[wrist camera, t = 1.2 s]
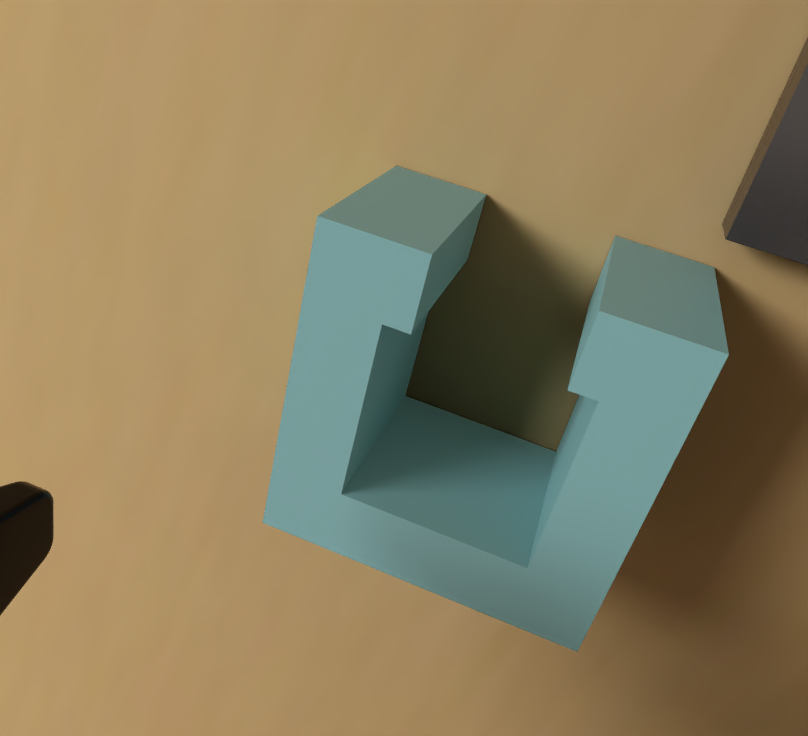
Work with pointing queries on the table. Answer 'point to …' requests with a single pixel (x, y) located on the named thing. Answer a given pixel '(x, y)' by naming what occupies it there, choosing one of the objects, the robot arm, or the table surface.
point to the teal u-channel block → (473, 442)
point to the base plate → (777, 179)
